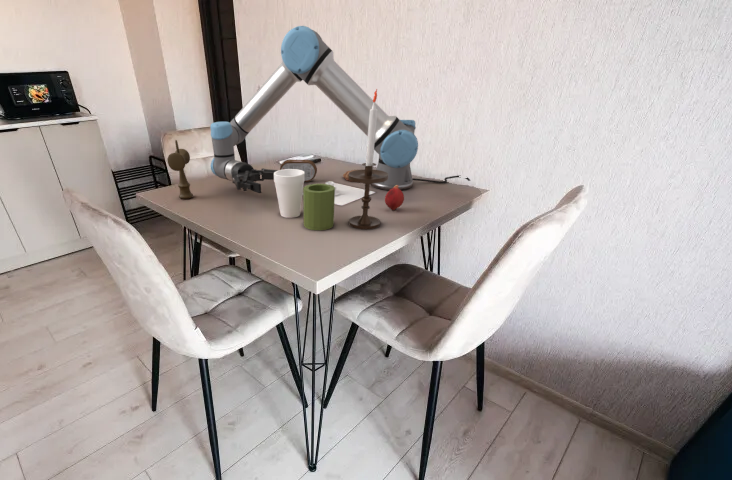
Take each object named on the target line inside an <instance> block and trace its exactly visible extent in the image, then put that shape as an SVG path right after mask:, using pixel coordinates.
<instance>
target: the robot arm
mask: <svg viewBox="0 0 732 480" xmlns="http://www.w3.org/2000/svg"><path fill="white" fill-rule="evenodd" d="M280 54H281V55H280V56H281V64H280V65H279V66H278V67H277V68H276V70H274V72H273V73H271V75H270V76H269V77H268V78H267V80H266V81H265V82H263V84H262V85H261V86H260V87H259V89H257V91H256V92H255V93H254V94H253V96H252V97H251V98H250V99H249V100H248V101H247V103H245V105H244V106H243V107H242V108H241V109H240V110H239V111H238V113H236V115H235V116H234V117H233V118H232V119H231V120H230V122H229V121H216V122H215V121H214V122H212V123H211V124H210V126H209V127H210V138H211V144H212V149H213V158H212V160H211V162H210V170H211V173H212V174H213V175H215V176H216V177H218V178H220V179H224V180H227V181H230V182H231V183H232V184H234V185H235V188H236V190H238V191H240V190H243V191H242V192H248V190H249V191H251V192H255V193H257V194H261V193H262V184H261V183H259V182H264V181H265V180H266V181H267V180H270V181H274V172H276V171H278V170H279V169H271V168H270V169H269V168H263V167H262V168H261V169H256V168H254V167H253V165H251V164H250V163H247V162H245V161H244V162H243V161H241V160H236V157H235V155H236V154H235V147H236V146H237V145H240V144H241V143H242V142H244V140H245V139H246V137H247V136H248V135H249V133H251V131H252V130H253V129H254V128H255V127H256V126H257V125H258V124H259V123H260V122H261V121H262V120H263V119H264V118H265V116H266V115H267V114H268V113H269V112H270V111H272V109H273V108H274V106H276V105H277V103H278V102H280V100H281V99H282V98H283V97H284V96H285V95H286V94H287V93H288V92H289V91H290V90H291V88H292V87H294V85H296V83H298V82H299V83H301V82H302V81H303V82H304V83H305V84H306V85H308V86H315V87H316V88H318V89H319V90H320V91H321V92H322V93H323V94H324V96H326V97H327V98H328V99H329V100H330V101H331V102H332V103H333V104H334V105H335V106H336V107H337V108H338V109H339V110H340V111H341V112H342V113H343V114H344V115H345V116H346V117H347V118H348V119H349V120H350V121H351V122H352V123H353V124H354V125H355V126H357V127H358V129H360V131H361V132H363V134H365V135H366V137H368V128H369V115H370V109H372V106H373V103H375V106H376V109H377V120H376V131H375V143H374V152H376V153H377V154H378V162H377V165H376V168H375V170H380V171H384V172H386V173H388V180H386V181H384V182H380V183H372V184H371V186H372V187H373V188H376V189H378V190H383V191H389V190H390V189H392V188H394V186H395V185H398V186H399V187H398V188H399V189H400V190H401V191H405V190H408V189H410V188H412V187H413V182H414V181H416V182H427V183H433V184H434V183H436V184H446V183H447V182H448V180H450V179H457V178H460V177H459V176H460V175H451V176H447V177H445V178H444V179H443V180H441V181H440V180H433V179H424V178H416V177H415V178H414V177H413V175H412V169H411V163H413V161H414V159H415V158H416V156H417V154H418V149H419V140H418V138H417V136H416V135H415V131H416V128H417V127H416V121H415V120H414V119H400V118H399V117H398V116H397V115H388V114H387V113H386V112H385V111H384V110H383V109H382V107H381V106H380V105H378V103H376V101H375V102H373V98H371V97H370V96H369V95H368V93H366V91H365V90H364V89H363V88H362V87H361V86H360V85H359V84H358V83H357V81H355V80H354V79H353V78H352V77H351V76H350V75H349V74H348V73H347V72H346V70H344V69H343V68H342V67H341V66H340V65H339V64H338V63H337V62H336V60H335V58H334V50H332V49H331V47H329V45H327V44H326V42H325V41H323V38H322V37H321V35H320V34H319V33H318V32H317V31H315V30H314V29H312V28H310V27H309V26H306V25H298V26H294V27H293V28H291V29H290V30H288V32H286V33H285V35H284V37H283V38H282V42H281V46H280ZM464 179H466V181H468V182H471V179H470V178H469V177H467V178H464Z"/></svg>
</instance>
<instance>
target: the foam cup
mask: <svg viewBox="0 0 732 480" xmlns="http://www.w3.org/2000/svg"><path fill="white" fill-rule="evenodd" d="M277 170H278V171H276V172H274V180H273V183H274V187H275V191H276V197H277V203H278V208H279V213H280V216H281V217H282V218H287V219H291V218H297V217H299V216H301V212H302V211H301V210H302V203H303V202H302V201H303V195H302V194H303V188H304V184H305V182H304V181H305V173H304V171H302V170H298V169H283V170H280V169H277Z"/></svg>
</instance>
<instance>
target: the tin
mask: <svg viewBox="0 0 732 480" xmlns="http://www.w3.org/2000/svg"><path fill="white" fill-rule="evenodd" d="M283 169H298V170H302V171H304V173H305V181H304V183H309V182H311V181H313V180H314V179H315V178H316V175H317V173H318V168H317V165H316V163H315V162H314V161H313V160H310V159H286V160H284V161H282V163H281V165H280V167H279V170H283Z"/></svg>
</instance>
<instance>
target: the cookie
mask: <svg viewBox="0 0 732 480" xmlns="http://www.w3.org/2000/svg"><path fill="white" fill-rule="evenodd" d="M355 170H356V169H351V170H347V171H345V172H344V173H343V174H342V177H343V179H344V180H345V181H346V182H352V181H351V180H349V178H348V177H349V173H350V172H352V171H355Z"/></svg>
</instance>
